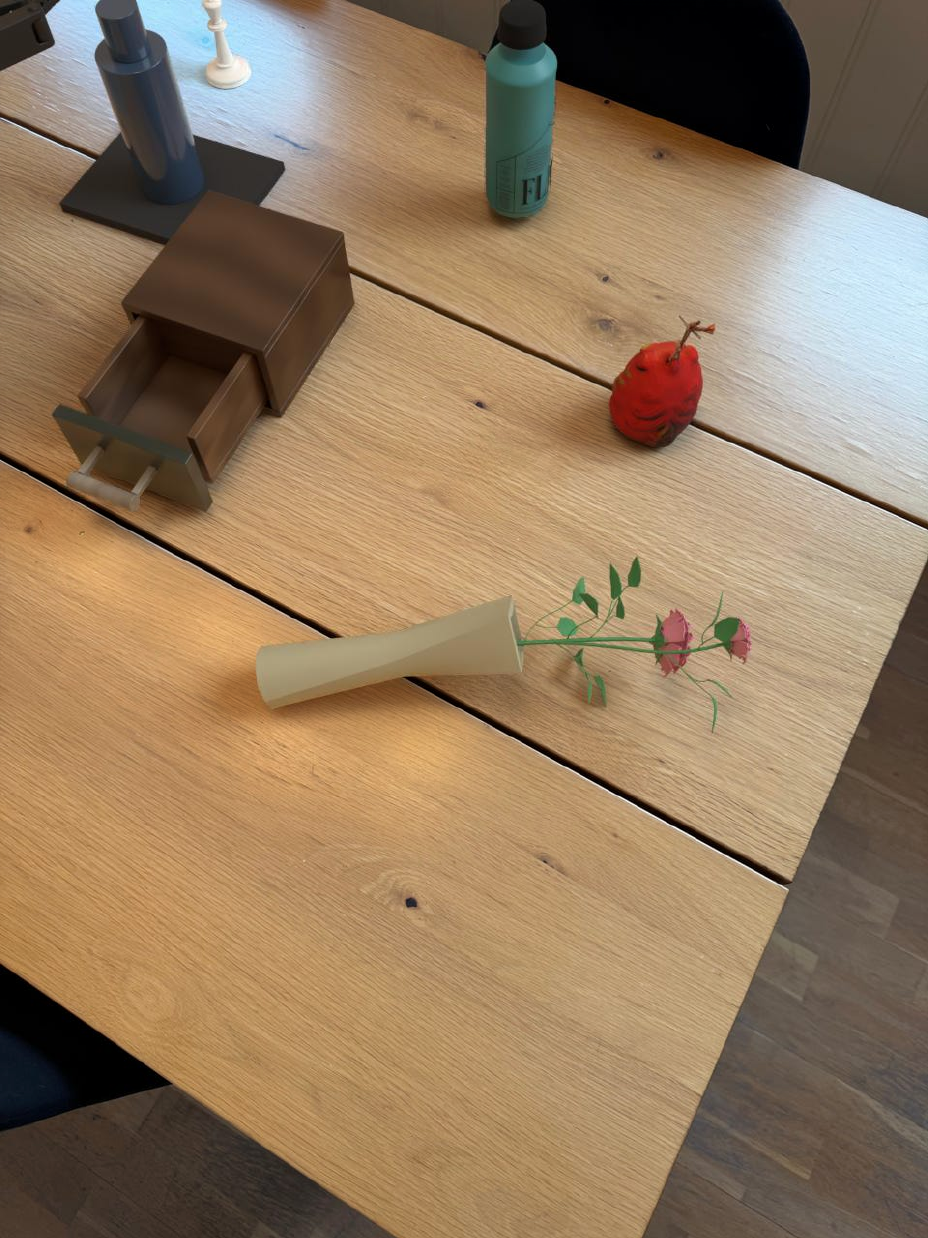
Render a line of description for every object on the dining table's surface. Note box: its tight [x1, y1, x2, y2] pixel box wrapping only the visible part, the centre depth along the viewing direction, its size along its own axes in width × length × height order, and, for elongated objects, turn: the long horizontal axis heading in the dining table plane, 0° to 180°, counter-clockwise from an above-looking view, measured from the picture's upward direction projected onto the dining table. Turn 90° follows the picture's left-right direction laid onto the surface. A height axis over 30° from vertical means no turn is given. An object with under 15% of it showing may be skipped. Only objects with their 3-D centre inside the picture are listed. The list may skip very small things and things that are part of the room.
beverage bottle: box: [483, 0, 558, 219], centre depth 93 cm, size 6×7×20 cm
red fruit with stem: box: [608, 314, 716, 449], centre depth 83 cm, size 8×7×15 cm
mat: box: [58, 131, 286, 246], centre depth 103 cm, size 18×14×1 cm
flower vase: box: [255, 555, 753, 734], centre depth 75 cm, size 12×12×35 cm
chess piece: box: [201, 0, 252, 90], centre depth 107 cm, size 5×5×10 cm
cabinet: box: [120, 190, 355, 418], centre depth 91 cm, size 15×14×9 cm
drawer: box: [51, 315, 269, 513], centre depth 85 cm, size 18×12×7 cm
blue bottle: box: [93, 0, 205, 205], centre depth 94 cm, size 6×6×18 cm
